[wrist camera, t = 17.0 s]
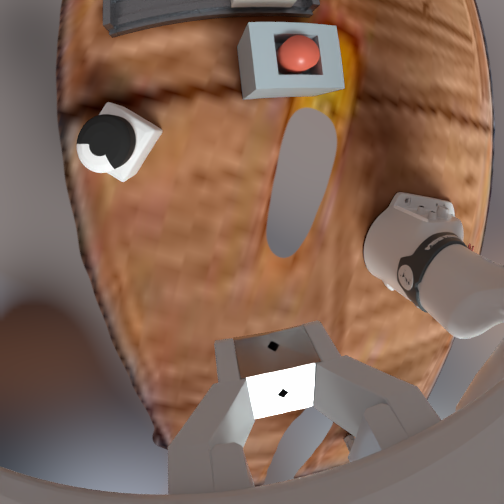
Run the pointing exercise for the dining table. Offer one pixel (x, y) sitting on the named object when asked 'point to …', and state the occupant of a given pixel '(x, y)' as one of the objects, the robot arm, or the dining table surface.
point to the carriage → (262, 3)
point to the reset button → (297, 55)
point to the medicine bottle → (116, 142)
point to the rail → (185, 12)
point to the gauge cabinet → (265, 62)
